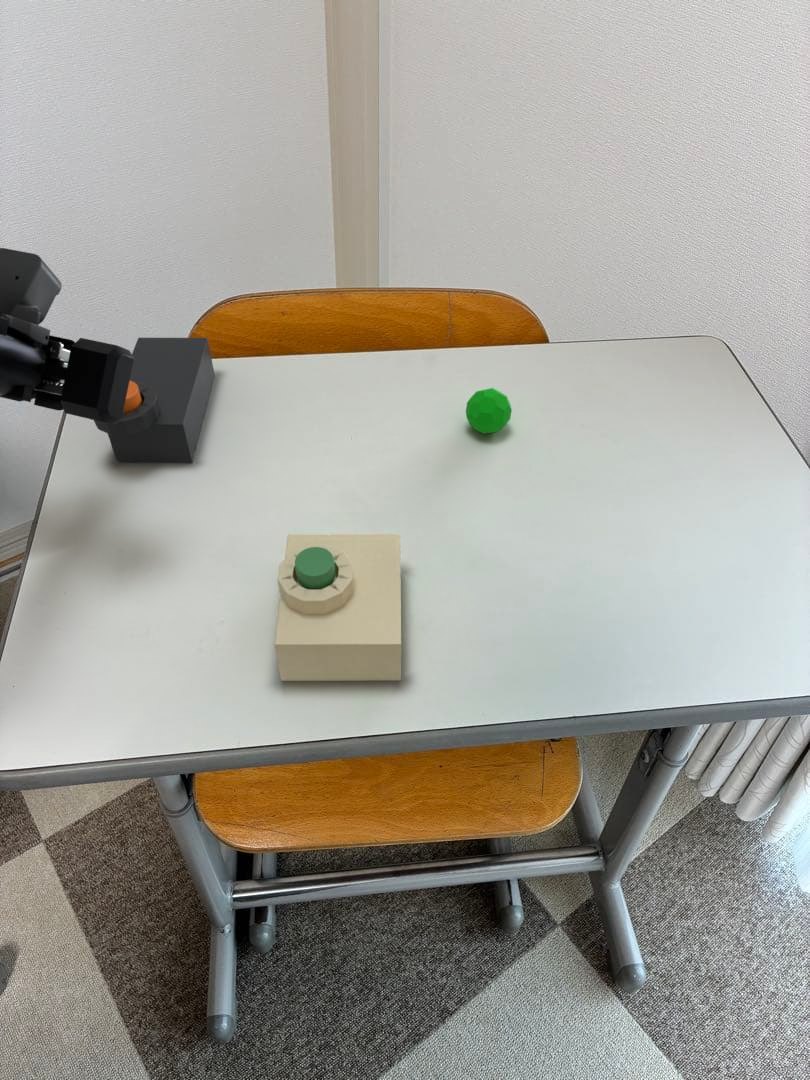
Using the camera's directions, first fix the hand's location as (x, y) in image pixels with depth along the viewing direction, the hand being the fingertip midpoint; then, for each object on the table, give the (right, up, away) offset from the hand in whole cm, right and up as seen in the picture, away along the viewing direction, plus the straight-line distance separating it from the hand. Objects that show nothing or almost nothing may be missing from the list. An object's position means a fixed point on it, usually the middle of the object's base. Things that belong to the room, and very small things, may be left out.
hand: (83, 383), depth 74 cm
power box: (+24, -22, -3) cm, 33 cm away
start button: (+1, -1, +7) cm, 7 cm away
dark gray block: (+3, -1, +16) cm, 16 cm away
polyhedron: (+39, -2, +16) cm, 42 cm away
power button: (+23, -17, -8) cm, 30 cm away
